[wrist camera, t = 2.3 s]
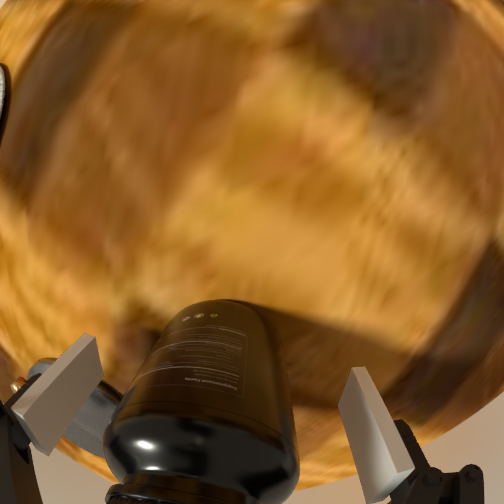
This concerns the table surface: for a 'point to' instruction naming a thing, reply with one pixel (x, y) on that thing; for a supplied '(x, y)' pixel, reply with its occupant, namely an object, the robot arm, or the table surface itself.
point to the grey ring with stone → (2, 89)
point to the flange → (83, 412)
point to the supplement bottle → (206, 415)
